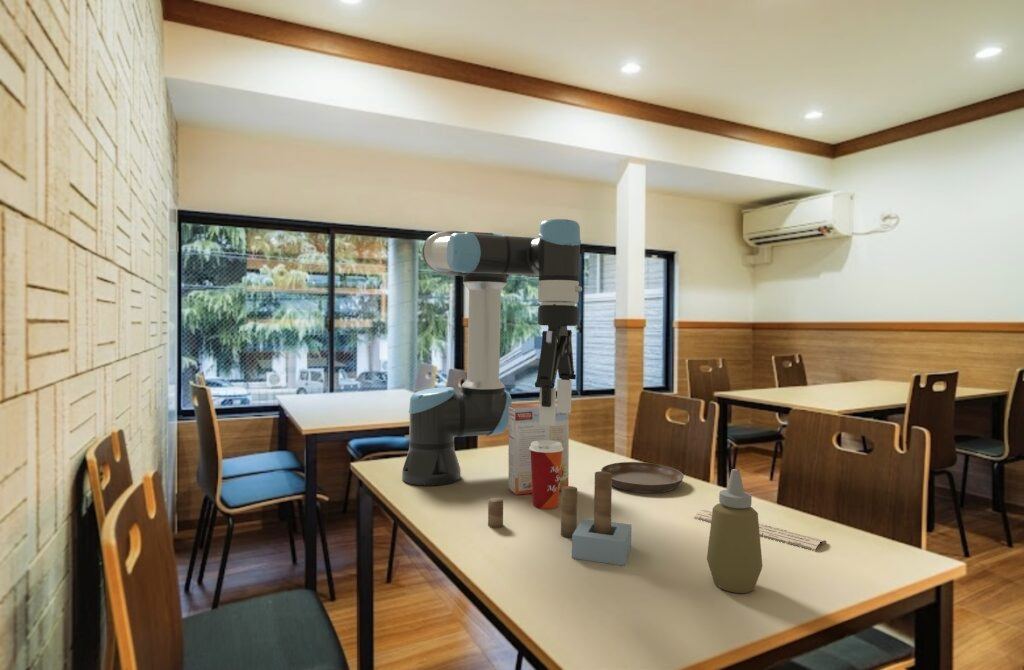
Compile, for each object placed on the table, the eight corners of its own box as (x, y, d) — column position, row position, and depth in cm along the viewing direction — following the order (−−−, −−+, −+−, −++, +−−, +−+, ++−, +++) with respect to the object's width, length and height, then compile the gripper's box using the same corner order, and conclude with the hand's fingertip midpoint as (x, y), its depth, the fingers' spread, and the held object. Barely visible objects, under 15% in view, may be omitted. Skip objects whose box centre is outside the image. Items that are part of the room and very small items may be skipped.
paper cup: (560, 511, 122) (561, 447, 122) (525, 509, 123) (526, 445, 123) (564, 501, 130) (565, 440, 129) (531, 498, 131) (532, 438, 131)
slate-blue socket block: (582, 539, 106) (582, 518, 106) (631, 546, 103) (631, 524, 103) (571, 558, 98) (572, 534, 97) (624, 565, 95) (624, 541, 95)
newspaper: (694, 522, 119) (694, 513, 119) (710, 514, 124) (710, 506, 123) (815, 555, 102) (815, 545, 102) (828, 545, 106) (828, 536, 106)
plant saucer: (689, 498, 133) (690, 484, 133) (601, 494, 136) (601, 480, 136) (677, 476, 154) (677, 463, 154) (600, 472, 157) (600, 460, 157)
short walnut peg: (491, 522, 115) (491, 497, 115) (505, 523, 114) (505, 499, 114) (485, 526, 112) (486, 501, 112) (499, 528, 111) (500, 503, 111)
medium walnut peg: (562, 531, 110) (563, 485, 110) (578, 533, 109) (578, 487, 109) (559, 536, 108) (559, 489, 107) (574, 538, 107) (575, 491, 106)
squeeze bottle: (697, 574, 91) (699, 464, 91) (745, 573, 92) (747, 463, 92) (720, 598, 83) (722, 477, 83) (772, 597, 84) (774, 476, 84)
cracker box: (559, 484, 144) (560, 402, 143) (569, 490, 138) (570, 405, 138) (507, 488, 139) (507, 403, 139) (514, 495, 133) (515, 407, 133)
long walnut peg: (595, 547, 102) (596, 470, 102) (611, 550, 101) (613, 472, 101) (592, 554, 99) (593, 474, 99) (609, 556, 98) (610, 476, 98)
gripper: (563, 302, 92) (560, 432, 92) (590, 306, 116) (587, 409, 116) (519, 302, 94) (517, 429, 95) (554, 305, 118) (552, 406, 119)
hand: (556, 418), depth 106 cm, fingers open, 13 cm apart
